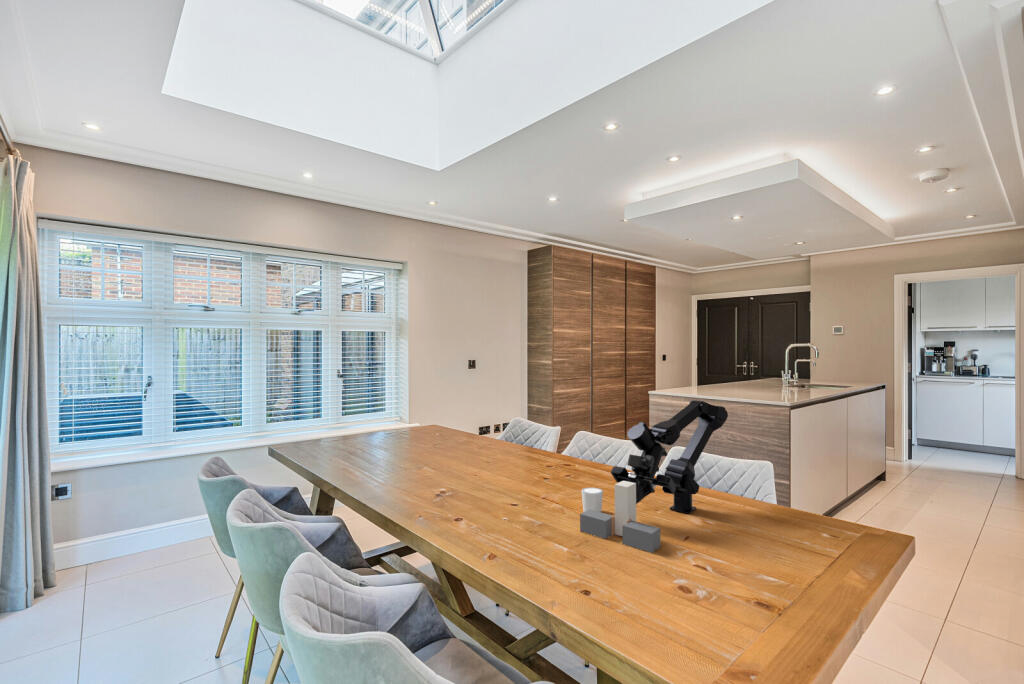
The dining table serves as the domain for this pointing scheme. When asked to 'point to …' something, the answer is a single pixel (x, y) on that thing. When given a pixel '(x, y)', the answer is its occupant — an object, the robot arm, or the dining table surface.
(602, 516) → the grey blocks
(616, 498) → the peg block
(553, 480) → the dining table surface
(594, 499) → the shot glass
